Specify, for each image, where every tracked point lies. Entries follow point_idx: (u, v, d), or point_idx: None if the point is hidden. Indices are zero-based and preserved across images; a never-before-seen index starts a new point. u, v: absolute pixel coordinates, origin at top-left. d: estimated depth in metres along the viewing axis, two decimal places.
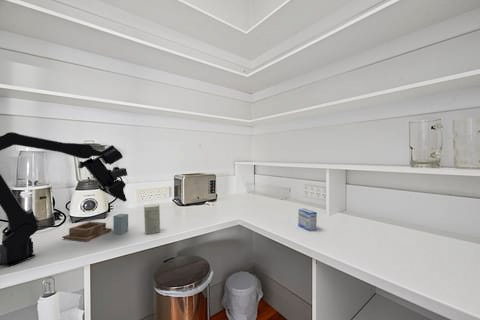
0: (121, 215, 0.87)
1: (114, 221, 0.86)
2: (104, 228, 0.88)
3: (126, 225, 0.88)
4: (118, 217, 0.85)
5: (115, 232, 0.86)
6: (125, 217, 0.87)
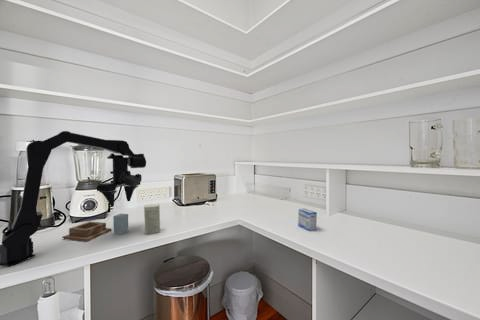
0: (121, 215, 0.87)
1: (114, 221, 0.86)
2: (104, 228, 0.88)
3: (126, 225, 0.88)
4: (118, 217, 0.85)
5: (115, 232, 0.86)
6: (125, 217, 0.87)
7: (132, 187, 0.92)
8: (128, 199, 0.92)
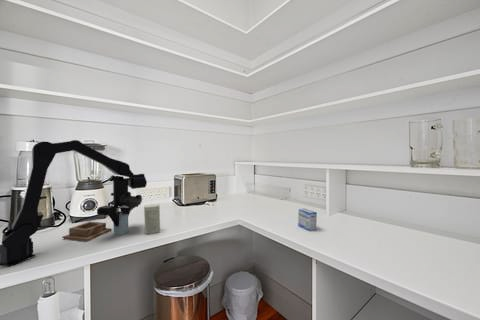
0: (121, 215, 0.87)
1: None
2: (104, 228, 0.88)
3: (126, 225, 0.88)
4: None
5: (115, 232, 0.86)
6: (125, 217, 0.87)
7: (128, 209, 0.90)
8: None
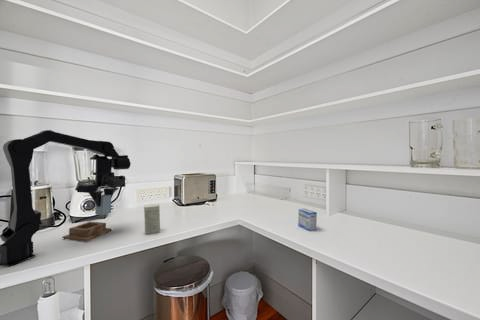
0: (103, 195, 0.85)
1: None
2: (104, 228, 0.88)
3: (109, 206, 0.86)
4: None
5: (97, 212, 0.84)
6: (108, 197, 0.86)
7: (112, 190, 0.88)
8: None
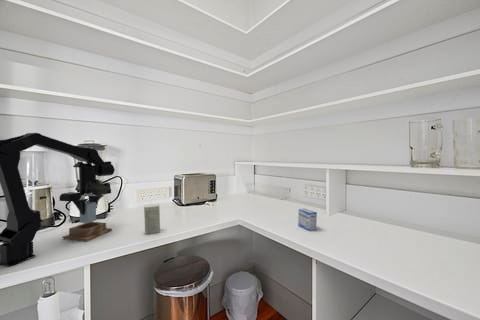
0: (88, 203, 0.84)
1: None
2: (104, 228, 0.88)
3: (93, 213, 0.85)
4: None
5: (81, 220, 0.83)
6: (92, 205, 0.85)
7: (96, 197, 0.87)
8: None
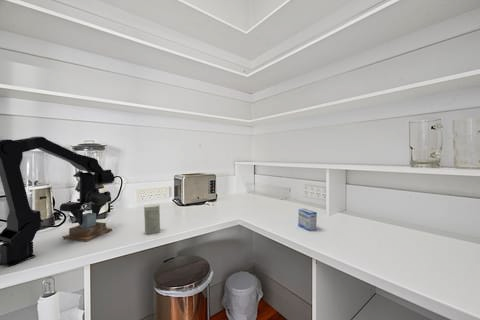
0: (88, 214, 0.84)
1: None
2: (104, 228, 0.88)
3: (94, 224, 0.86)
4: (84, 216, 0.83)
5: None
6: (92, 216, 0.85)
7: (99, 205, 0.88)
8: None
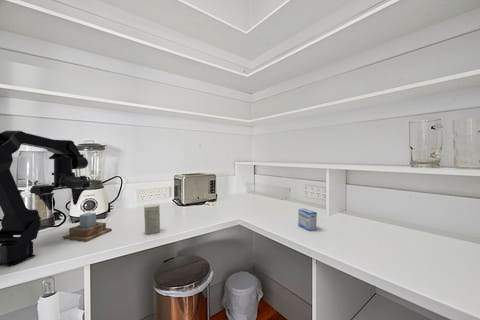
0: (88, 214, 0.84)
1: (80, 221, 0.83)
2: (104, 228, 0.88)
3: (94, 224, 0.86)
4: (84, 216, 0.83)
5: None
6: (92, 216, 0.85)
7: (79, 190, 0.86)
8: (74, 202, 0.86)
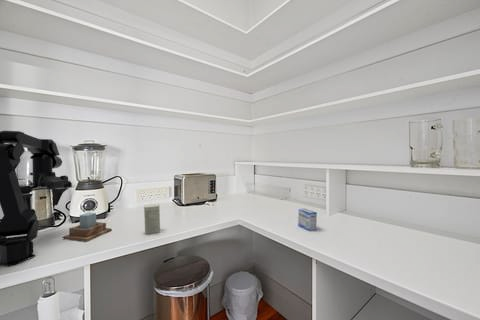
0: (88, 214, 0.84)
1: (80, 221, 0.83)
2: (104, 228, 0.88)
3: (94, 224, 0.86)
4: (84, 216, 0.83)
5: None
6: (92, 216, 0.85)
7: (60, 190, 0.84)
8: (55, 203, 0.84)
